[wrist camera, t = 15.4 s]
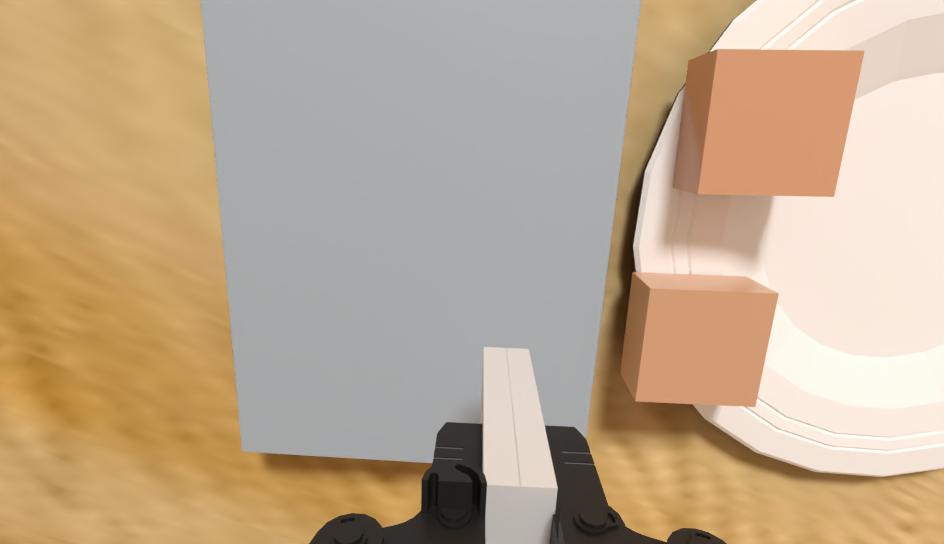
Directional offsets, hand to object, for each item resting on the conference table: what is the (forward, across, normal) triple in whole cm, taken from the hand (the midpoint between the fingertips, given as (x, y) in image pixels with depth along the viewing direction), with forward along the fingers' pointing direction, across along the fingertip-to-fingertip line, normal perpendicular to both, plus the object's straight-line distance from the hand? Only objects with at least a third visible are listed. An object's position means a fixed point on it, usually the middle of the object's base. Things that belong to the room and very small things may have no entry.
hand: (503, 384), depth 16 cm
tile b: (+6, +8, 0) cm, 10 cm away
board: (+8, -4, +5) cm, 10 cm away
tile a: (+6, +10, +9) cm, 14 cm away
